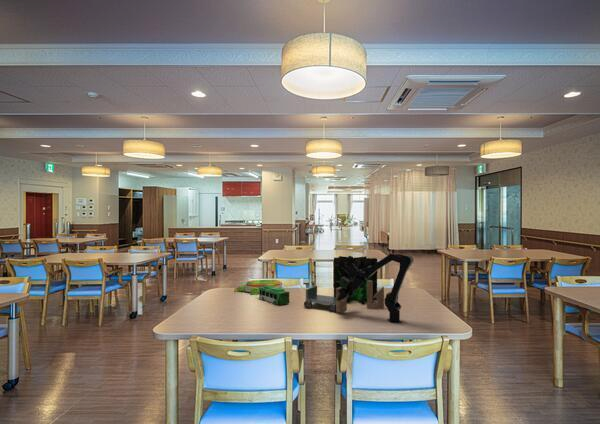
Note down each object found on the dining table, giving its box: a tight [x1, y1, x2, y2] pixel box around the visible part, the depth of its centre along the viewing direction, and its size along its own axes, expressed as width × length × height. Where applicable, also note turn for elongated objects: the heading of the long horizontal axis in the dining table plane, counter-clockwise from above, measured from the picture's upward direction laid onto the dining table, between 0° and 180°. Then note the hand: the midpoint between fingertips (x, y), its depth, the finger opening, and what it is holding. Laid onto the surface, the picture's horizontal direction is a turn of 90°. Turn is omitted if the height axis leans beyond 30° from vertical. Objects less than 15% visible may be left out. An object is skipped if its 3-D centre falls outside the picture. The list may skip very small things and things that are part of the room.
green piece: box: [233, 279, 283, 296], centre depth 287 cm, size 29×38×7 cm
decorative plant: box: [333, 255, 378, 305], centre depth 259 cm, size 29×30×30 cm
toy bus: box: [258, 285, 290, 306], centre depth 252 cm, size 11×27×10 cm, turn 31°
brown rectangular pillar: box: [336, 287, 348, 313], centre depth 222 cm, size 5×5×14 cm
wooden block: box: [366, 280, 385, 310], centre depth 234 cm, size 4×11×18 cm, turn 84°
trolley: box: [303, 285, 336, 313], centre depth 236 cm, size 23×17×12 cm
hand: (339, 299), depth 223 cm, fingers closed on brown rectangular pillar, 5 cm apart
